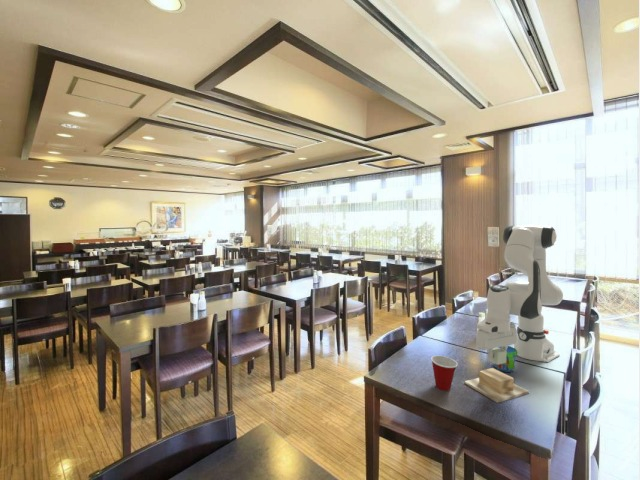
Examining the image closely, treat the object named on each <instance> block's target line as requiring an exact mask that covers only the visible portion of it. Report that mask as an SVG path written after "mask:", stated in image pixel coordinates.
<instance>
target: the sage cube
mask: <svg viewBox="0 0 640 480" xmlns="http://www.w3.org/2000/svg"><path fill="white" fill-rule="evenodd" d="M492 352H493V354H495V355H494V358H489V357H488V352H487V351H486V354H487V355H486V358H487V361H489V362H491V363H493V364H494V365H495V364H497V365H499V364H503V363H506V355H507V351H505V350H503V349H500V348H498V347H497V348H493V351H492Z"/></svg>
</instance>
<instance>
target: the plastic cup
mask: <svg viewBox="0 0 640 480" xmlns="http://www.w3.org/2000/svg"><path fill="white" fill-rule="evenodd" d="M430 360H431V364H432V369H433V370H432V371H433V376H434V377H433V378H434V383H435V387H436V388H437V389H438V390H440V391H444V392H446V391H450V390H451V388H452V382H453V379H454V375H455V371H456V368H457V367H458V366H459V363H458V362H457V361H456V359H455V360H454V359H453V358H451V357H449V356H444V355H432V356H431V358H430Z"/></svg>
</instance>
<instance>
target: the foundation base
mask: <svg viewBox="0 0 640 480" xmlns="http://www.w3.org/2000/svg"><path fill="white" fill-rule="evenodd" d="M478 374H479V375H478V377H475V378H473V379H468V380H465V381H464V384H465V385H467V386H469V387H470V388H472V389H473V390H475V391H477V392H479V393H480V394H481V395H483V396H485V397H486V398H488V399H490V400H492V401H494V402H495V403H496V404H498V403H502V402H505V401H508V400H511V399H512V400H513V399H515V398H518V397H521V396H525V395H528V394H530V393H529V392H530V391H529V390H528V389H525V388H524V387H522V386H519V385H517V384H516V383H514V381H515V378H514V377H512V376H511V375H508V374H506V373H504V372H503V371H500V370H498V369H497V368H494V367H491V368H487V369H483V370H480V371H479V373H478Z"/></svg>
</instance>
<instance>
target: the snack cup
mask: <svg viewBox="0 0 640 480" xmlns="http://www.w3.org/2000/svg"><path fill="white" fill-rule="evenodd" d="M498 348H500V349H501V347H498ZM506 351H507V355H506V363H503V364H499V365H497V364H495V363H494V367H495V369H496V370H498V371H500V372H503V373H504V372H505V373H511V372H513V371H514V369H515V363H516V358H517V356H518V355H517V354H518V352H517V350H516V349H515V348H513V346H511V345H508V348H507V350H506Z"/></svg>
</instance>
